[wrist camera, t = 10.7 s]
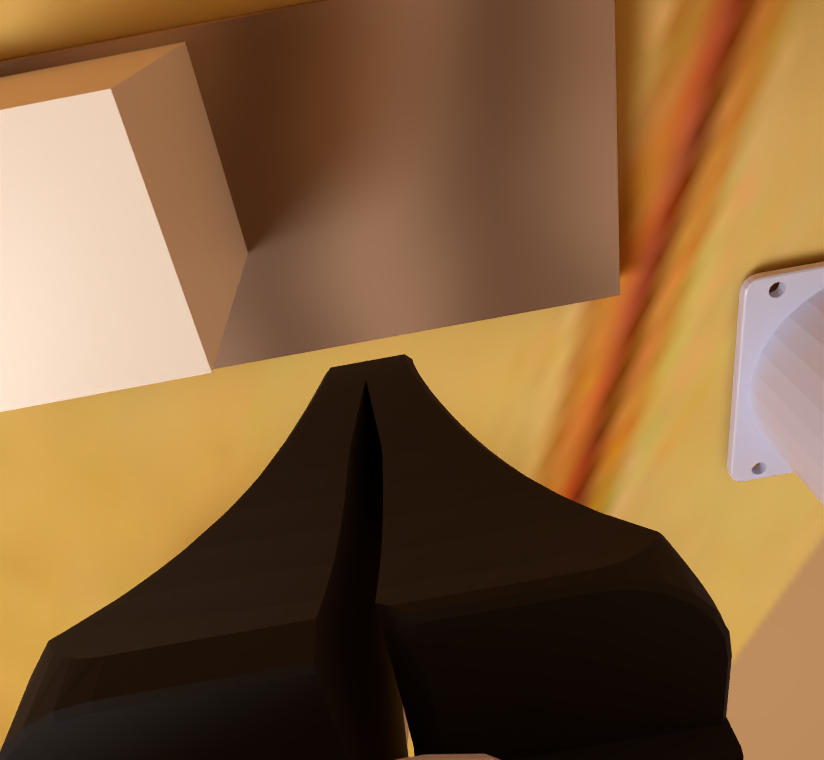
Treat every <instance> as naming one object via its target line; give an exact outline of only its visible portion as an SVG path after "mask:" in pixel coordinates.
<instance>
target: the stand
mask: <svg viewBox="0 0 824 760" xmlns="http://www.w3.org/2000/svg"><path fill="white" fill-rule="evenodd" d="M181 42H185V43H186V46H187V50H188V53H189V56H190V60H191V63H192V66H193V70H194V73H195V77H196V80H197V83H198V87H199V90H200V93H201V97H202V100H203V103H204V107H205V110H206V113H207V117H208V120H209V124H210V127H211V130H212V134H213V137H214V140H215V144H216V147H217V150H218V154H219V157H220V161H221V164H222V167H223V171H224V174H225V177H226V181H227V184H228V187H229V191H230V194H231V197H232V201H233V204H234V208H235V211H236V214H237V218H238V221H239V224H240V228H241V231H242V234H243V238H244V241H245V245H246V248H247V251H248V255H247V258H246V262H245V265H244V268H243V271H242V275H241V278H240V281H239V285H238V288H237V291H236V295H235V298H234V301H233V304H232V308H231V311H230V314H229V318H228V321H227V324H226V327H225V331H224V334H223V337H222V341H221V344H220V347H219V350H218V354H217V357H216V360H215V364H214V367H213V369H216V368H222V367H227V366H233V365H238V364H244V363H249V362H255V361H260V360H266V359H271V358H277V357H282V356H288V355H293V354H299V353H304V352H309V351H315V350H320V349H326V348H331V347H337V346H342V345H348V344H353V343H359V342H364V341H370V340H375V339H381V338H386V337H392V336H397V335H403V334H408V333H414V332H419V331H425V330H430V329H436V328H441V327H447V326H452V325H458V324H463V323H469V322H474V321H480V320H485V319H491V318H496V317H502V316H507V315H513V314H518V313H524V312H529V311H535V310H540V309H546V308H551V307H557V306H562V305H568V304H573V303H579V302H584V301H590V300H595V299H601V298H606V297H612V296H617V295H620V271H619V216H618V160H617V105H616V49H615V0H319V1H314V2H308V3H303V4H298V5H293V6H287V7H282V8H277V9H271V10H266V11H261V12H255V13H250V14H245V15H239V16H234V17H229V18H223V19H218V20H213V21H207V22H202V23H197V24H192V25H186V26H181V27H176V28H170V29H165V30H160V31H154V32H149V33H144V34H138V35H133V36H128V37H122V38H117V39H112V40H106V41H101V42H96V43H91V44H85V45H80V46H75V47H69V48H64V49H59V50H53V51H48V52H43V53H37V54H32V55H27V56H21V57H16V58H11V59H6V60H0V77H5V76H10V75H15V74H20V73H25V72H31V71H36V70H41V69H46V68H51V67H57V66H62V65H67V64H72V63H77V62H82V61H88V60H93V59H98V58H103V57H108V56H114V55H119V54H124V53H129V52H134V51H139V50H145V49H150V48H155V47H160V46H165V45H170V44H176V43H181Z"/></svg>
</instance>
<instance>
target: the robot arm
mask: <svg viewBox="0 0 824 760" xmlns="http://www.w3.org/2000/svg"><path fill="white" fill-rule="evenodd" d="M777 282H779V286H778V288H777V289H776V290H775V291H773V292H769V289H770V287H771V286H772V285H773V284H774V283H777ZM758 463H760V464H759V465H758V466H756V467H754V468H753V466H754V465H755V464H758ZM727 471H728V473H729V474H730V476H731V477H732V478H733V479H734V480H736V481H747V480H753V479H758V478H764V477H770V476H775V475H781V474H786V473H792V472H795V473H796V474H797V475H798V476H799V477H800V479H801V480H802V481H803V482H804V483H805V484H806V486H807V487H808V488H809V489H810V490H811V492H812V493H813V494H814V495H815V496H816V497H817V499H818V500H819V501H820V502H821V503H822V504H823V506H824V261H823V262H817V263H812V264H806V265H801V266H795V267H790V268H784V269H779V270H773V271H768V272H762V273H757V274H754V275H751V276H750V277H748V278H747V279H746V280H745V281H744V282H743V284H742V285H741V289H740V296H739V309H738V323H737V337H736V350H735V364H734V378H733V391H732V405H731V418H730V432H729V446H728V459H727ZM731 658H732V652H731V643H730V634H729V630H728V629H727V627H726V625H725V623H724V621H723V619H722V617H721V614H720V612H719V611H718V609H717V607H716V605H715V604H714V602H713V600H712V598H711V597H710V595H709V594H708V592H707V591H706V589H705V588H704V587H703V585H702V584H701V582H700V581H699V580H698V578H697V577H696V576H695V574H694V573H693V572H692V571H691V569H690V568H689V567H688V565H687V564H686V563H685V561H684V560H683V559H682V558H681V557H680V555H679V554H678V553H677V552H676V550H675V549H674V548H673V547H672V546H671V544H670V543H669V542H668V541H667V540H666V538H665V537H664V536H663V535H662V534H661V533H659V532H657V531H654V530H651V529H648V528H645V527H642V526H639V525H636V524H633V523H630V522H627V521H624V520H621V519H618V518H615V517H612V516H609V515H606V514H603V513H600V512H598V511H595V510H593V509H590V508H588V507H586V506H583V505H581V504H579V503H577V502H574V501H572V500H570V499H567V498H565V497H563V496H561V495H559V494H557V493H555V492H553V491H551V490H550V489H548V488H546V487H544V486H542V485H541V484H539V483H537V482H535V481H534V480H532V479H530V478H528V477H526V476H525V475H523V474H522V473H520V472H519V471H517V470H516V469H514V468H513V467H511V466H510V465H508V464H507V463H506V462H504V461H503V460H502V459H500V458H499V457H498V456H496V455H495V454H494V453H492V452H491V451H490V450H489V449H487V448H486V447H485V446H484V445H483V444H481V443H480V442H479V441H478V440H477V439H476V438H475V437H474V436H472V435H471V434H470V433H469V432H468V431H467V430H466V429H465V428H464V427H463V426H462V425H461V424H460V423H459V422H458V421H457V420H456V419H455V418H454V417H453V416H452V415H451V414H450V413H449V412H448V410H447V409H446V408H445V407H444V406H443V405H442V404H441V403H440V401H439V400H438V399H437V398H436V397H435V396H434V394H433V393H432V392H431V390H430V389H429V388H428V386H427V385H426V384H425V382H424V381H423V379H422V378H421V376H420V375H419V373H418V371H417V370H416V368H415V366H414V363H413V360H412V359H411V358H409V357H408V356H406V355H405V354H403V355H398V356H392V357H387V358H381V359H376V360H370V361H365V362H359V363H354V364H348V365H343V366H337V367H332V368H330V369H329V371H328V372H327V373H326V375H325V376H324V378H323V380H322V382H321V384H320V385H319V387H318V389H317V391H316V393H315V394H314V396H313V398H312V400H311V401H310V403H309V405H308V407H307V408H306V410H305V412H304V413H303V415H302V416H301V418H300V420H299V421H298V423H297V424H296V426H295V427H294V429H293V431H292V432H291V434H290V435H289V437H288V438H287V440H286V441H285V443H284V444H283V445H282V447H281V448H280V450H279V451H278V452H277V454H276V455H275V456H274V458H273V459H272V460H271V462H270V463H269V464H268V466H267V467H266V468H265V470H264V471H263V472H262V474H261V475H260V476H259V477H258V479H257V480H256V481H255V482H254V483H253V484H252V486H251V487H250V488H249V489H248V490H247V491H246V492H245V493H244V494H243V495H242V496H241V497H240V498H239V499H238V501H237V502H236V503H235V504H234V505H233V506H232V507H231V508H230V509H229V510H228V511H227V512H226V513H225V514H224V515H223V516H222V517H221V518H219V519H218V520H217V521H216V522H215V523H214V524H213V525H212V526H210V527H209V528H208V529H207V530H206V531H205V532H204V533H203V534H202V535H200V536H199V537H198V538H197V539H196V540H195V541H194V542H193V543H191V544H190V545H189V546H188V547H187V548H186V549H185V550H183V551H182V552H181V553H180V554H179V555H177V556H176V557H175V558H173V559H172V560H171V561H170V562H168V563H167V564H166V565H164V566H163V567H162V568H161V569H159V570H158V571H157V572H155V573H154V574H152V575H151V576H150V577H148V578H147V579H145V580H144V581H143V582H141V583H140V584H138V585H137V586H136V587H134V588H133V589H131V590H130V591H129V592H127V593H126V594H124V595H123V596H121V597H120V598H118V599H117V600H115V601H114V602H112V603H110V604H109V605H107V606H105V607H104V608H102V609H101V610H99V611H97V612H96V613H94V614H92V615H91V616H89V617H88V618H86V619H84V620H83V621H81V622H79V623H78V624H76V625H75V626H73V627H71V628H70V629H68V630H67V631H65V632H63V633H61V634H60V635H58V636H56V637H54V638H53V639H51V640H49V641H48V643H47V645H46V647H45V649H44V651H43V653H42V655H41V657H40V659H39V661H38V663H37V665H36V667H35V669H34V671H33V673H32V675H31V678H30V680H29V682H28V685H27V687H26V690H25V692H24V695H23V697H22V700H21V702H20V705H19V707H18V710H17V712H16V715H15V717H14V720H13V722H12V724H11V727H10V729H9V732H8V734H7V736H6V739H5V741H4V744H3V746H2V749H1V751H0V760H743V753H742V749H741V746H740V744H739V742H738V740H737V738H736V736H735V734H734V732H733V730H732V728H731V726H730V724H729V721H728V719H727V717H726V711H727V701H728V689H729V680H730V669H731ZM403 708H404V712H405V716H406V719H407V723H408V727H409V731H410V734H411V738H412V742H413V746H414V755H415V756H414V757H408V749H407V740H406V731H405V722H404V713H403Z"/></svg>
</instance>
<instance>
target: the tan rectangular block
mask: <svg viewBox="0 0 824 760" xmlns="http://www.w3.org/2000/svg"><path fill="white" fill-rule="evenodd" d="M247 255H248V251H247V248H246V245H245V241H244V238H243V234H242V231H241V228H240V224H239V221H238V218H237V214H236V211H235V208H234V204H233V201H232V197H231V194H230V191H229V187H228V184H227V181H226V177H225V174H224V171H223V167H222V164H221V161H220V157H219V154H218V150H217V147H216V144H215V140H214V137H213V134H212V130H211V127H210V124H209V120H208V117H207V113H206V110H205V107H204V103H203V100H202V97H201V93H200V90H199V87H198V83H197V80H196V77H195V73H194V70H193V66H192V63H191V60H190V56H189V53H188V50H187V46H186V43H185V42H181V43H176V44H170V45H165V46H160V47H155V48H150V49H145V50H139V51H134V52H129V53H124V54H119V55H114V56H108V57H103V58H98V59H93V60H88V61H82V62H77V63H72V64H67V65H62V66H57V67H51V68H46V69H41V70H36V71H31V72H25V73H20V74H15V75H10V76H5V77H0V412H3V411H8V410H14V409H19V408H24V407H30V406H35V405H40V404H46V403H51V402H57V401H62V400H67V399H73V398H78V397H83V396H89V395H94V394H100V393H105V392H110V391H116V390H121V389H127V388H132V387H137V386H143V385H148V384H153V383H159V382H164V381H170V380H175V379H180V378H186V377H191V376H196V375H202V374H207V373H212V370H213V367H214V364H215V360H216V357H217V354H218V350H219V347H220V344H221V341H222V337H223V334H224V331H225V327H226V324H227V321H228V318H229V314H230V311H231V308H232V304H233V301H234V298H235V295H236V291H237V288H238V285H239V281H240V278H241V275H242V271H243V268H244V265H245V262H246V258H247Z"/></svg>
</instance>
